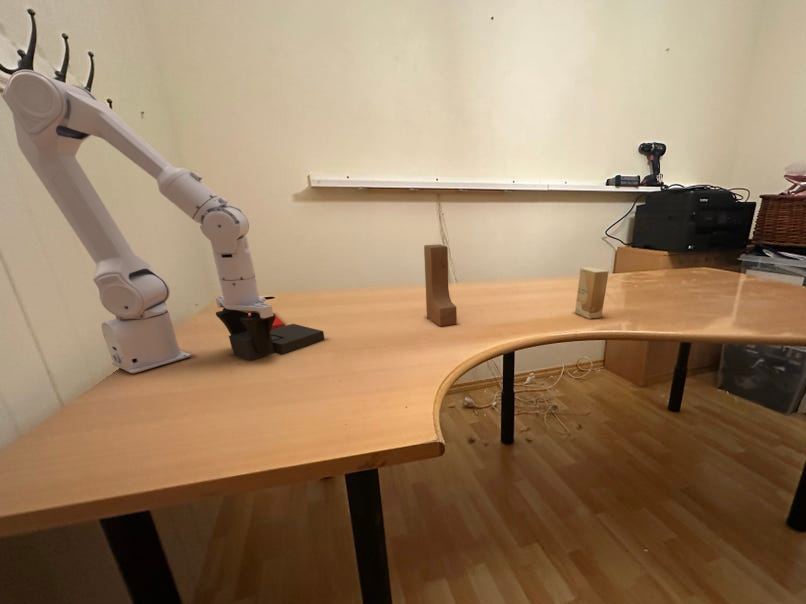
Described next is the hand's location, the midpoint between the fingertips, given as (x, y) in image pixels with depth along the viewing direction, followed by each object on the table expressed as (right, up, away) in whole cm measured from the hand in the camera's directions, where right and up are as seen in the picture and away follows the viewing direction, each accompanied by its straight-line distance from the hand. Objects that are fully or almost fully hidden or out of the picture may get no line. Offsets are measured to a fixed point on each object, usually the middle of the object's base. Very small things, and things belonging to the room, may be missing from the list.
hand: (252, 347), depth 78 cm
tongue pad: (+1, -1, +2) cm, 2 cm away
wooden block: (+35, +7, +23) cm, 42 cm away
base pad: (+4, +1, +7) cm, 8 cm away
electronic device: (-8, +7, +19) cm, 22 cm away
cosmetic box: (+73, +9, +29) cm, 79 cm away
